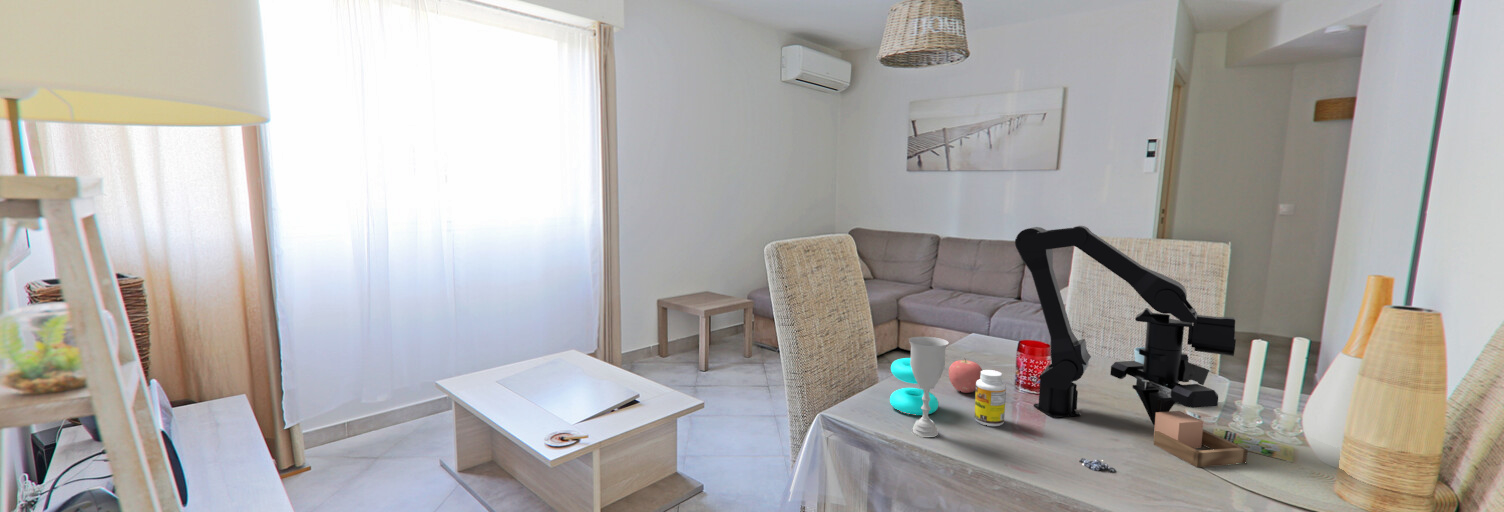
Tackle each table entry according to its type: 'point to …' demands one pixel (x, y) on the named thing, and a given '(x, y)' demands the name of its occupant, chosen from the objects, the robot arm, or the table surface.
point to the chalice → (927, 375)
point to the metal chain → (1097, 465)
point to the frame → (1220, 455)
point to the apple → (964, 375)
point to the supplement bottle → (990, 398)
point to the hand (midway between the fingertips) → (1156, 425)
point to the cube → (1180, 427)
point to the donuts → (909, 390)
